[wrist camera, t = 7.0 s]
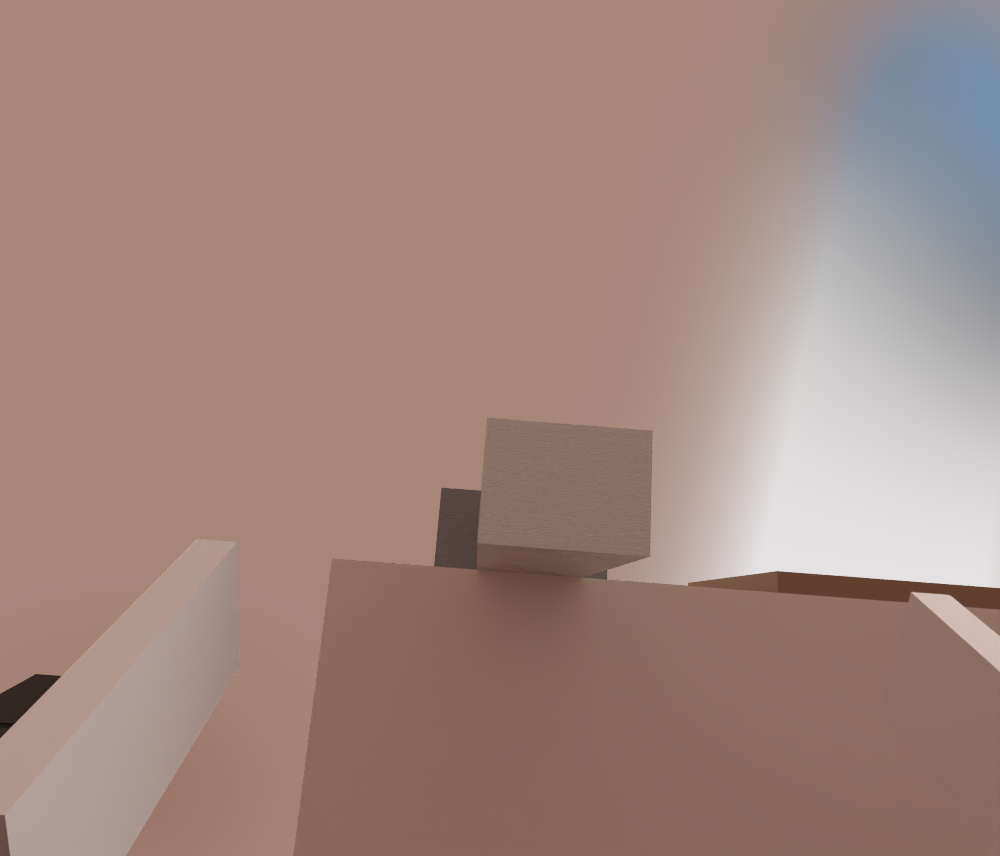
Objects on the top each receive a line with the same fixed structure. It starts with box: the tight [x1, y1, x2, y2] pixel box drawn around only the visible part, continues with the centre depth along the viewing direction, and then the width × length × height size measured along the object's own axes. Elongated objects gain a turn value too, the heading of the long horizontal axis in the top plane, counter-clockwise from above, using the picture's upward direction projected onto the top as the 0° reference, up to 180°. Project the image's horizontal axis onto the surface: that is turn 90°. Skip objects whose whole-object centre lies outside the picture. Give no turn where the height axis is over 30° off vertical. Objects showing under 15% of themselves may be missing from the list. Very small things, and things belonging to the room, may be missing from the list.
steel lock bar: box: [434, 418, 652, 580], centre depth 28 cm, size 23×8×4 cm, turn 2°
